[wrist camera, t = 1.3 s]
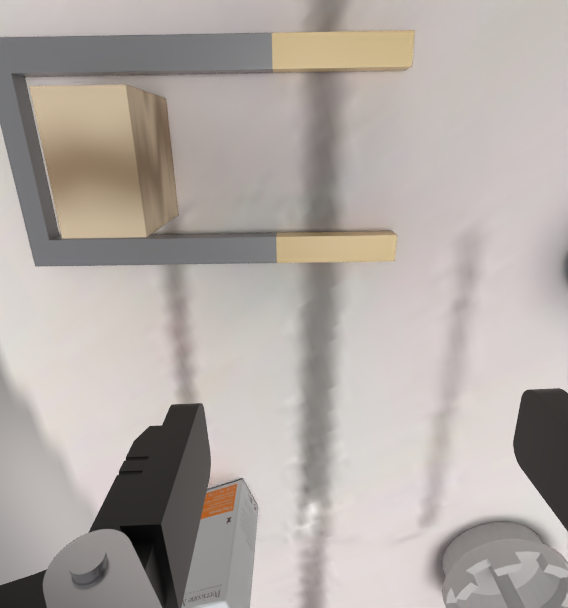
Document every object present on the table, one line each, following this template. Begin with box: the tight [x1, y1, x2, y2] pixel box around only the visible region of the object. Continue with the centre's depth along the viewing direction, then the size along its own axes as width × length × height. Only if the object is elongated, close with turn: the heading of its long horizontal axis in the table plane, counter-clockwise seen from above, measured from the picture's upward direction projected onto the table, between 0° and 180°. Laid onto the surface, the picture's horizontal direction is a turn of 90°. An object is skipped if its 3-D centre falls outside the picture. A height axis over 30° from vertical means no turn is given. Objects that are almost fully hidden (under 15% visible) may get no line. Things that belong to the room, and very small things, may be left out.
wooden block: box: [29, 85, 179, 239], centre depth 27 cm, size 8×5×8 cm, turn 1°
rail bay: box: [0, 30, 415, 266], centre depth 30 cm, size 15×28×2 cm, turn 91°
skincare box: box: [181, 479, 258, 608], centre depth 37 cm, size 6×4×12 cm
